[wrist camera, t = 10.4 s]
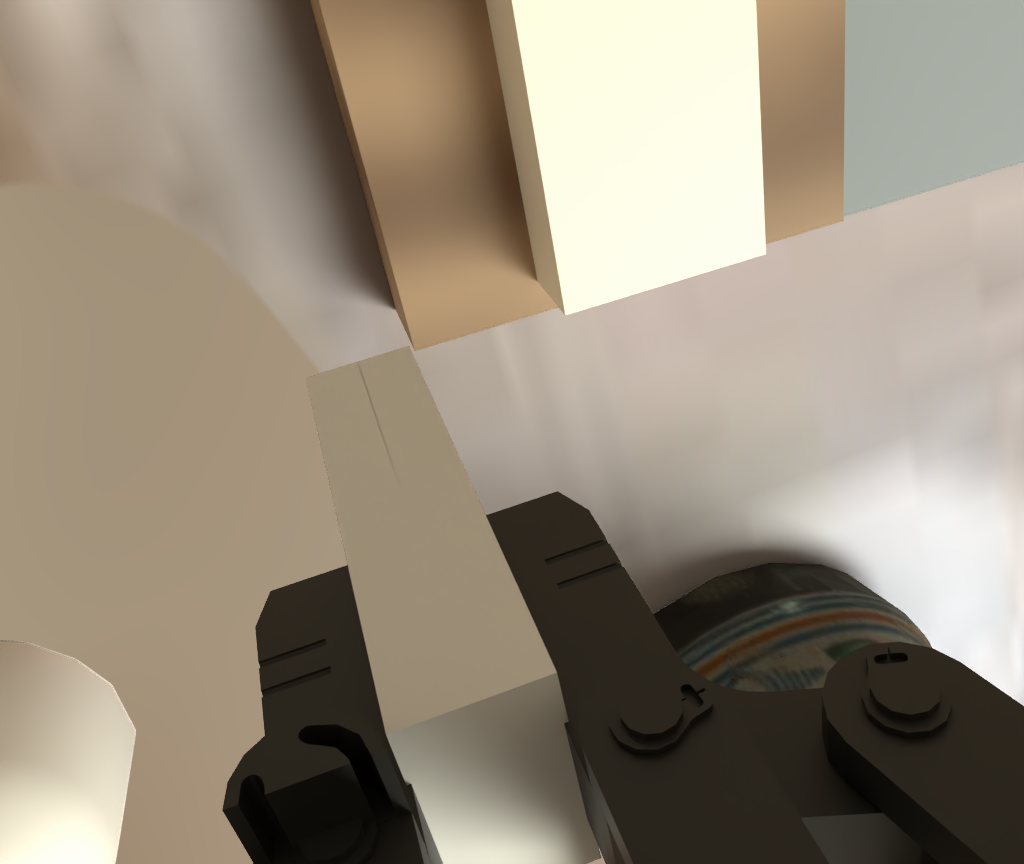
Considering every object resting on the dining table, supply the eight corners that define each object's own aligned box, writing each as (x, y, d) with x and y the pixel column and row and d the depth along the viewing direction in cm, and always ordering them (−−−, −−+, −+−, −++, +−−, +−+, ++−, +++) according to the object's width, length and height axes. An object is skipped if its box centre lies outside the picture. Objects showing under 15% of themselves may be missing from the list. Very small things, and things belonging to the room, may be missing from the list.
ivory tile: (475, -56, 23) (503, -47, 21) (703, -111, 24) (752, -108, 22) (537, 281, 28) (565, 315, 26) (724, 225, 29) (766, 253, 27)
